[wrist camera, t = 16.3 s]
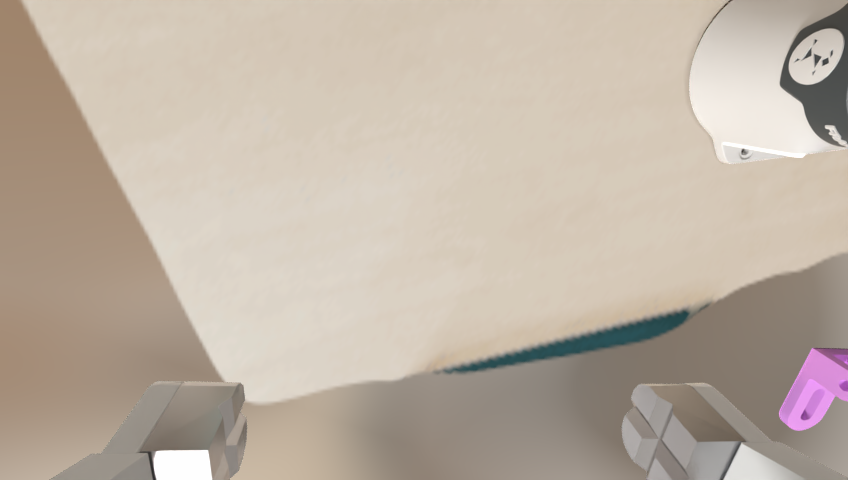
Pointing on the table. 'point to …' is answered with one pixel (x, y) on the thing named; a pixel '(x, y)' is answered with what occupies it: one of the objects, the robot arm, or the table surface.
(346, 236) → the table surface
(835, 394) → the bracket
